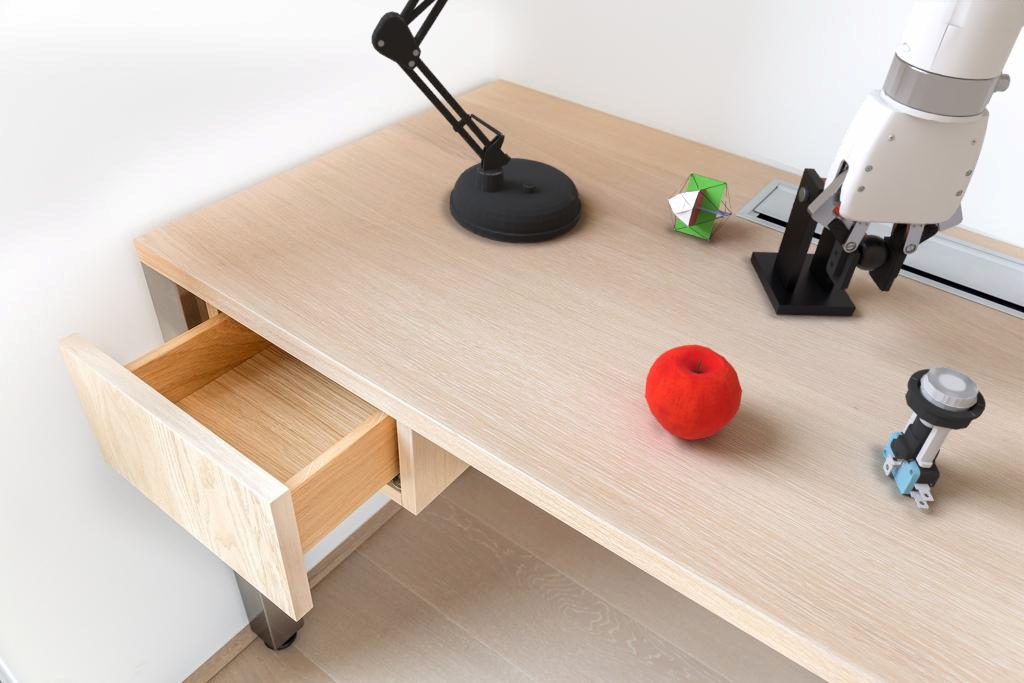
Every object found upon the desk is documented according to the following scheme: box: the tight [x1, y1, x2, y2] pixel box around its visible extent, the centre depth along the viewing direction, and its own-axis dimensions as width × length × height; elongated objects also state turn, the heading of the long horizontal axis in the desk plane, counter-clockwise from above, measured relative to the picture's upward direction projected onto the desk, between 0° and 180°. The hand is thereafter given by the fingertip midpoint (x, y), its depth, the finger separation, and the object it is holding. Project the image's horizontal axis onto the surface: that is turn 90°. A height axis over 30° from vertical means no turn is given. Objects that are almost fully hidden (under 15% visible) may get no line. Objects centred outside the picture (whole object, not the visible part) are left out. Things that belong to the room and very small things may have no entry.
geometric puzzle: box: [667, 172, 733, 242], centre depth 91 cm, size 7×7×8 cm
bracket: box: [749, 167, 857, 317], centre depth 81 cm, size 10×8×13 cm
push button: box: [882, 366, 987, 510], centre depth 61 cm, size 7×5×10 cm
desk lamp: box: [371, 0, 582, 244], centre depth 81 cm, size 24×26×45 cm
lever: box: [820, 177, 889, 272], centre depth 74 cm, size 13×3×3 cm, turn 2°
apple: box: [644, 344, 743, 441], centre depth 65 cm, size 8×8×7 cm
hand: (857, 280), depth 73 cm, fingers closed on lever, 3 cm apart
